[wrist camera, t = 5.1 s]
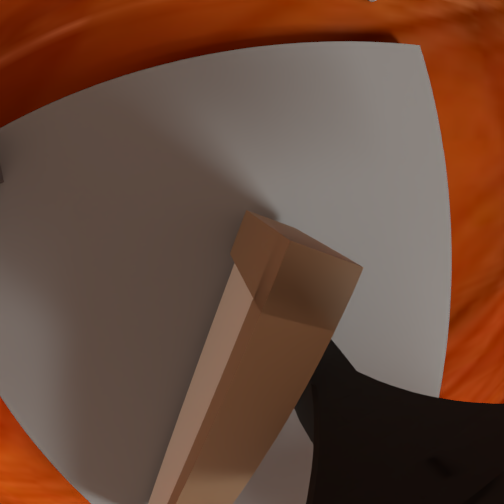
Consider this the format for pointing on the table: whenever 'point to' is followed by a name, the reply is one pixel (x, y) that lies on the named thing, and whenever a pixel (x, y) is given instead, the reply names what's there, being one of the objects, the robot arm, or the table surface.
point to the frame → (211, 242)
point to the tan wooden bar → (254, 359)
